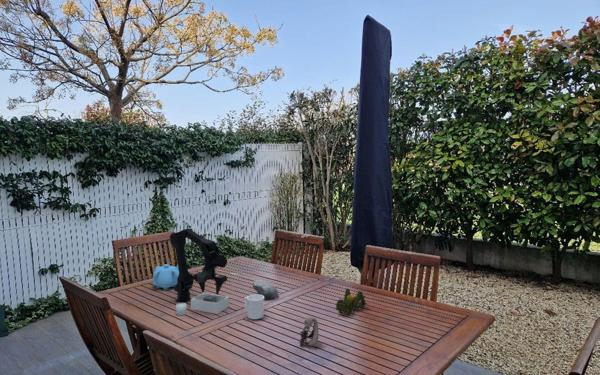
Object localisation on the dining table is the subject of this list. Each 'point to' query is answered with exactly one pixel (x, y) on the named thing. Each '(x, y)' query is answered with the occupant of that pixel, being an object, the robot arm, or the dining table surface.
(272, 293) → the rock
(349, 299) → the toy
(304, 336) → the toy
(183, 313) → the jar
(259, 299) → the mug
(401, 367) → the dining table surface
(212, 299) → the metal block
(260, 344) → the dining table surface
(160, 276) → the teapot
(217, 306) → the tote
